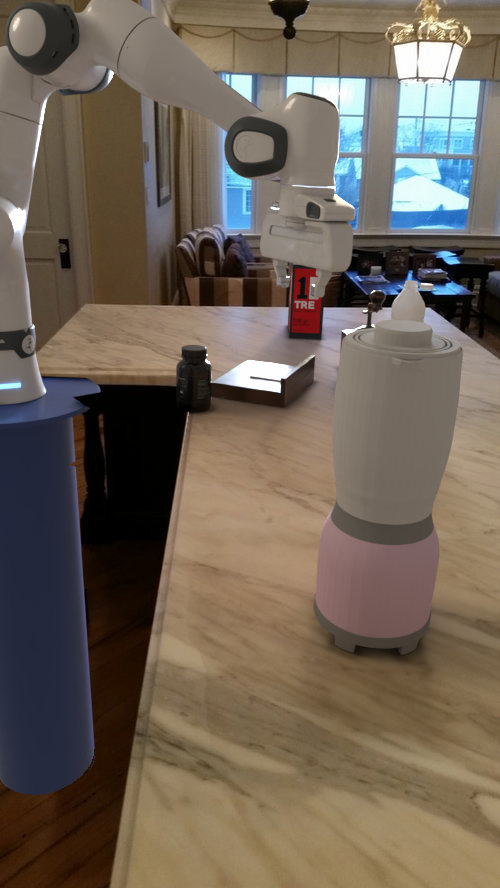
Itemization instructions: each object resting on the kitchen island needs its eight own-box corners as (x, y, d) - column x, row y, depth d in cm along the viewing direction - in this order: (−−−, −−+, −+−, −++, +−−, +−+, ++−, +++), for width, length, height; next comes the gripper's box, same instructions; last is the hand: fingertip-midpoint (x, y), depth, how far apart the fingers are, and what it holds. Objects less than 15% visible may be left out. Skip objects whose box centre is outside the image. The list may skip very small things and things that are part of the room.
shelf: (211, 396, 145) (211, 368, 143) (247, 372, 163) (248, 346, 160) (284, 407, 140) (285, 378, 138) (313, 381, 157) (315, 355, 155)
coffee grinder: (395, 380, 160) (404, 301, 154) (348, 380, 159) (355, 300, 152) (376, 362, 175) (384, 289, 168) (333, 362, 173) (339, 288, 167)
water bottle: (374, 401, 145) (387, 278, 136) (398, 397, 148) (413, 277, 139) (402, 414, 138) (418, 286, 129) (427, 410, 141) (444, 284, 132)
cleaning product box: (287, 325, 210) (291, 256, 203) (317, 326, 210) (322, 257, 203) (289, 338, 195) (293, 264, 188) (321, 339, 195) (326, 265, 188)
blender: (440, 662, 69) (492, 345, 58) (316, 657, 70) (343, 339, 58) (410, 575, 84) (447, 307, 72) (308, 571, 84) (328, 303, 72)
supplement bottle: (169, 405, 139) (169, 346, 134) (198, 399, 143) (199, 341, 138) (188, 415, 134) (188, 353, 129) (218, 409, 138) (219, 349, 133)
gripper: (253, 200, 120) (249, 282, 125) (331, 210, 104) (323, 303, 109) (283, 200, 123) (278, 281, 128) (363, 210, 107) (353, 301, 113)
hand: (299, 291), depth 118 cm, fingers open, 8 cm apart
